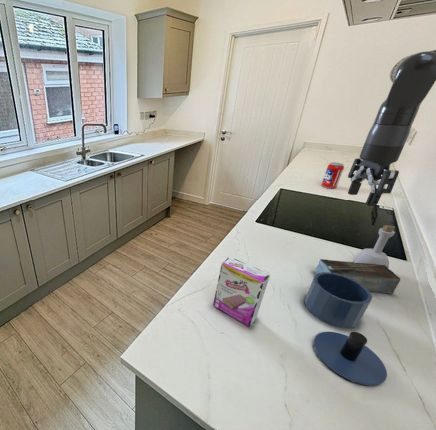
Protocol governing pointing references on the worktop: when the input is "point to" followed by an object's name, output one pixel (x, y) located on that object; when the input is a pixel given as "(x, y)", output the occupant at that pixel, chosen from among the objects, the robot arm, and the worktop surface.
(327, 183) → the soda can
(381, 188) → the robot arm
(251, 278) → the candy bar box
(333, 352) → the lid
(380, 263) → the potion bottle
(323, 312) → the pot
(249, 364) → the worktop surface
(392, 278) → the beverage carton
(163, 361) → the worktop surface
